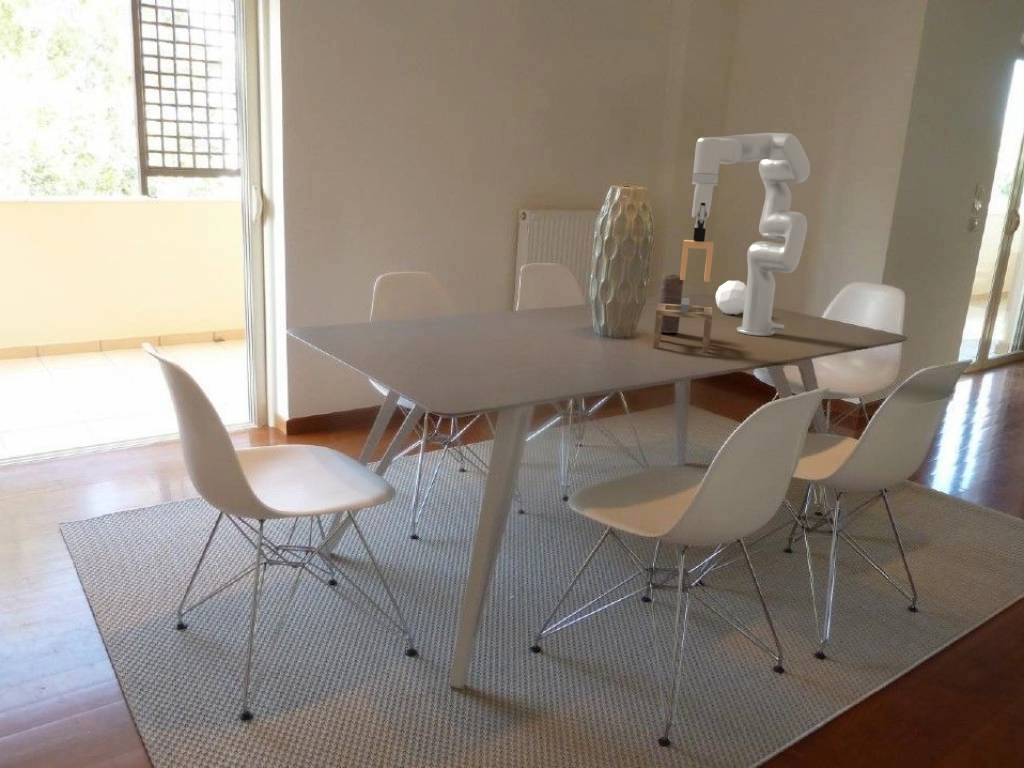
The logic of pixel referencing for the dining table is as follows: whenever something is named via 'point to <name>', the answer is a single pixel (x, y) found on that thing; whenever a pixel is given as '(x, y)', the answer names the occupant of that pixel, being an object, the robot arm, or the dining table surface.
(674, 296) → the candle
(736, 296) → the geodesic sphere
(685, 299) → the long charcoal crossbeam
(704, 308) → the shelf
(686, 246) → the orange cream legged block
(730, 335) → the dining table surface
